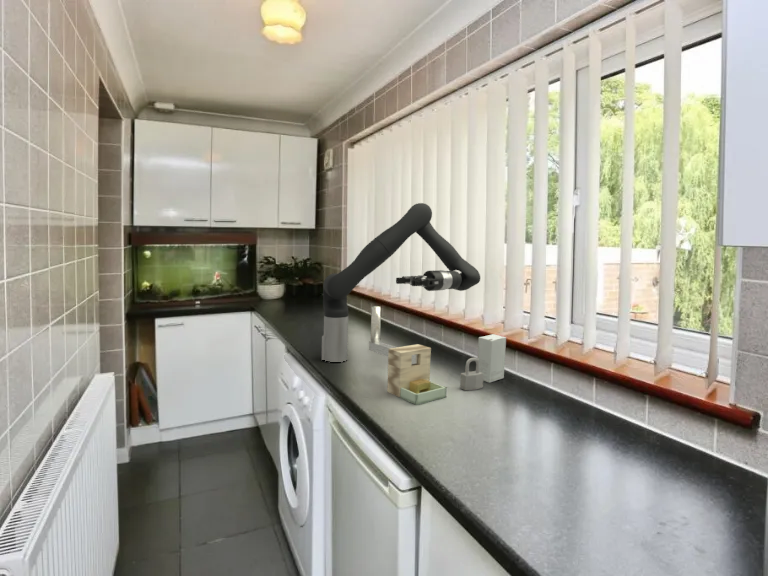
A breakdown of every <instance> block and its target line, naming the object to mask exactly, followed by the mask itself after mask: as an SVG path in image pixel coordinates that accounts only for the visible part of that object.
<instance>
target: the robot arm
mask: <svg viewBox="0 0 768 576" xmlns="http://www.w3.org/2000/svg"><path fill="white" fill-rule="evenodd" d="M432 217H433V211H432V208H431V207H430V205H428V204H427V203H422V202H417V203H415V204H413V205H412V206H411V207H409V209H408V210H407V212H406V213H405V214H403V216H402V217H400V219H399V220H398V221H397V222H396V223H394V224H393V225H391V226H390V227H388V228H387V229H385V230H384V231H383V232H381V233H380V234H378V235H377V236H376V237H374V238H373V239H372V240H371V241H370V242H369V243H368V244H367V245H365V246H364V248H362V250H360V252H359V253H358V254H357V256H356V257H355V258H354V260H353V261H352V262H351V263H350V264H349V265H348V266H347V267H345V268H344V269H342V270H340V272H338V273H337V272H336V273H335V272H334V273H331V274H328V275H327V276H326V277H325V279H324V281H323V286H322V298H323V299H322V307H323V335H321V361H322V360H325V361H324V362H326V361H330V362H341V363H344V362H343V361H345V362H347V361H348V356H349V355H348V351H349V349H348V345H349V307H348V299H347V298H348V295H349V294H350V293H351V292H352V291H353V290H354V289H355V288H356V287H357V286H358V285H359V284H360V283H361V282H362V280H363V279H364V278H366V277H367V276H368V275H370V274H371V273H372V272H374V271H375V270H376V269H377V268H378V267H379V266H381V265H382V264H383V263H385V262H386V261H387V260H388V259H389V258H390V257H391V256H393V254H395V253H396V251H398V250H399V248H401V247H402V246H403V244H404V243H405V242H406V241H407V240H408V239H409V238H410V237H411V236H412V235H413V234H415V233H416V234H417V235H418V236H419V237H420V239H422V240H423V241H424V242H425V243H426V244H427V245H428V246H429V247H430V249H432V251H433V252H434V253H435V254H436V256H437V257H438V258H439V259H440V261H441V262H442V263H443V265H444V266H445V267H446V269H448V270H441V269H440V270H427V271H425V272H424V273H423V275H410V276H407V275H406V276H404V275H403V276H401V277H396V278H395V284H397V285H401V284H402V285H403V284H404V285H410V286H412V287H421V288H423V289H425V290H426V291H428V292H432V291H433V292H434V291H435V292H437V291H445V290H455V291H460V292H462V291H467V290H468V289H471V288H472V287H474V286H476V285H478V284H479V283H480V282H481V274H480V272H479V270H478V269H477V268H476V267H475V266H473V265H472V264H471V263H469V262H468V261H467V260H465V259H464V258H463V257H462V256H461V255H460V253H459V252H458V251H457V250H456V248H455V247H454V246H453V245H452V244H451V243H450V242H449V241H448V240H447V239H446V238H444V237H443V236H442V235H441V234H440V233H439V232H438V231H437V230H436V229H435V228H434V227H433V225H432V223H431V220H432ZM458 271H459V272H460V273H459V272H458ZM346 360H347V361H346ZM330 362H329V363H330Z"/></svg>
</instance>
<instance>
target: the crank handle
mask: <svg viewBox="0 0 768 576" xmlns="http://www.w3.org/2000/svg"><path fill="white" fill-rule="evenodd" d="M370 308H371V309H370V310H371V311H370V312H371V314H370V315H371V316H370V319H371V320H370V341H368V351H370V352H373V353H377V354H379V355H382V356H384V357H387V358H388V353H389V349H390V348H397V346H395V345H391V344H389V343H385V342H383V341H381V321H382V320H381V316H382V306H381V305H380V306H378V305H373V306H371V307H370ZM417 362H418V354H415V355H412V363H411V365H412V364H417Z"/></svg>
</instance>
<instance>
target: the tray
mask: <svg viewBox="0 0 768 576" xmlns="http://www.w3.org/2000/svg"><path fill="white" fill-rule="evenodd" d="M430 382H431V383H430V391H427V392H421V391H420V393H418V394H416V393H414V392H411V391H409V390H407V389H404V388H401V395H400V397H399V398H400V399H402V400H404V401H406V402H409V403H411V404H413V405H415V406H418V405H422V404H425V403H430V402H433V401H437V400H440V399H444V398H447V389H448V388H447V387H446V386H443V385H441V384H438V383H436V382H433V381H432V380H430Z"/></svg>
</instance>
